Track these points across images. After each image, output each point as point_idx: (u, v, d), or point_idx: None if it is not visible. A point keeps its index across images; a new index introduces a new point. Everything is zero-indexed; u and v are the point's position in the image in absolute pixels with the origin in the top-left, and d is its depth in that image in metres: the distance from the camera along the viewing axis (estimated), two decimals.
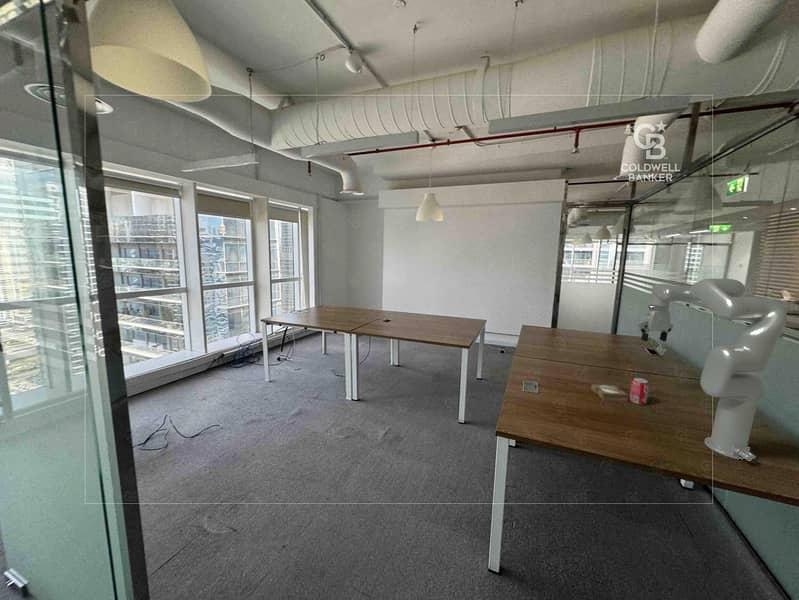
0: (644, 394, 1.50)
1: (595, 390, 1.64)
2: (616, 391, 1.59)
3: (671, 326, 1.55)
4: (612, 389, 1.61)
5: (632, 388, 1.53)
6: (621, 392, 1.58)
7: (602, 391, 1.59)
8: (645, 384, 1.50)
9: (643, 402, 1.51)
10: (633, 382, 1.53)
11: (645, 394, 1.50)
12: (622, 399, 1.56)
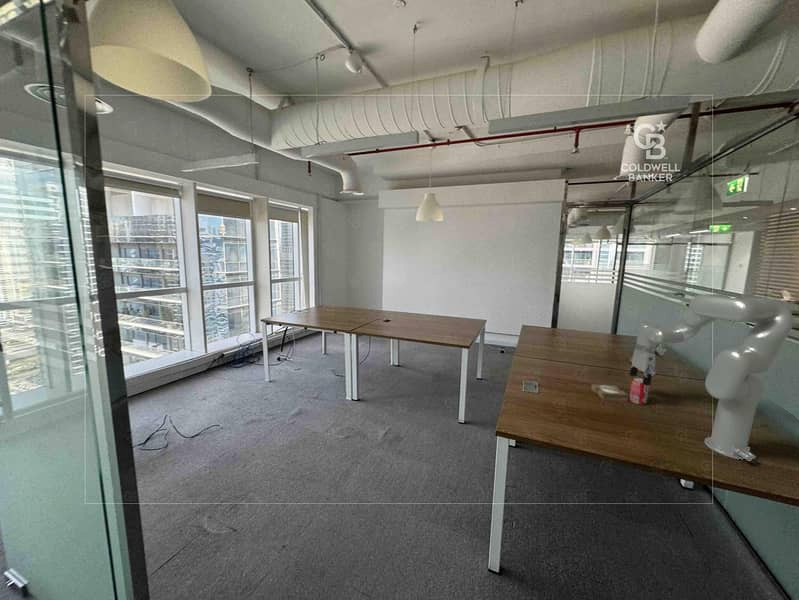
0: (644, 394, 1.50)
1: (595, 390, 1.64)
2: (616, 391, 1.59)
3: None
4: (612, 389, 1.61)
5: (632, 388, 1.53)
6: (621, 392, 1.58)
7: (602, 391, 1.59)
8: None
9: (643, 402, 1.51)
10: (633, 382, 1.53)
11: (645, 394, 1.50)
12: (622, 399, 1.56)
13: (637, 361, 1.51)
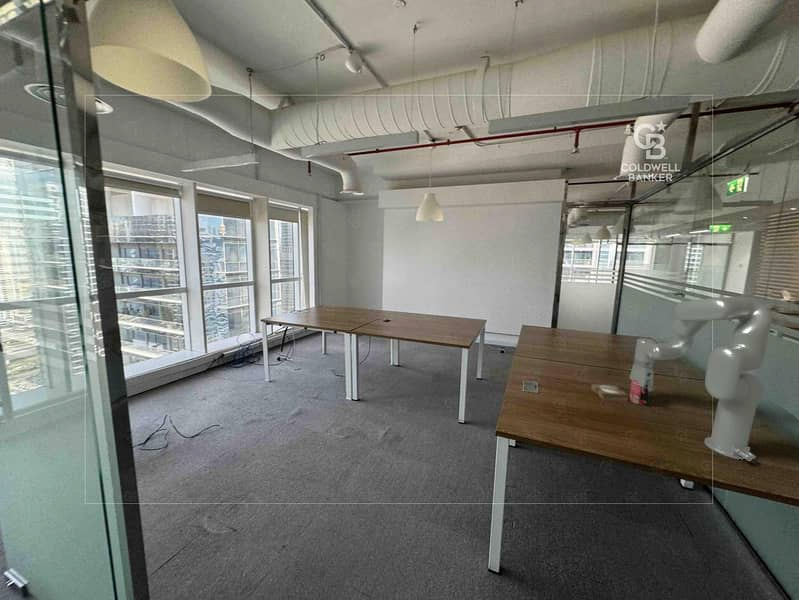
0: None
1: (595, 390, 1.64)
2: (616, 391, 1.59)
3: None
4: (612, 389, 1.61)
5: (632, 388, 1.53)
6: (621, 392, 1.58)
7: (602, 391, 1.59)
8: None
9: (643, 402, 1.51)
10: (633, 382, 1.53)
11: None
12: (622, 399, 1.56)
13: (636, 376, 1.52)
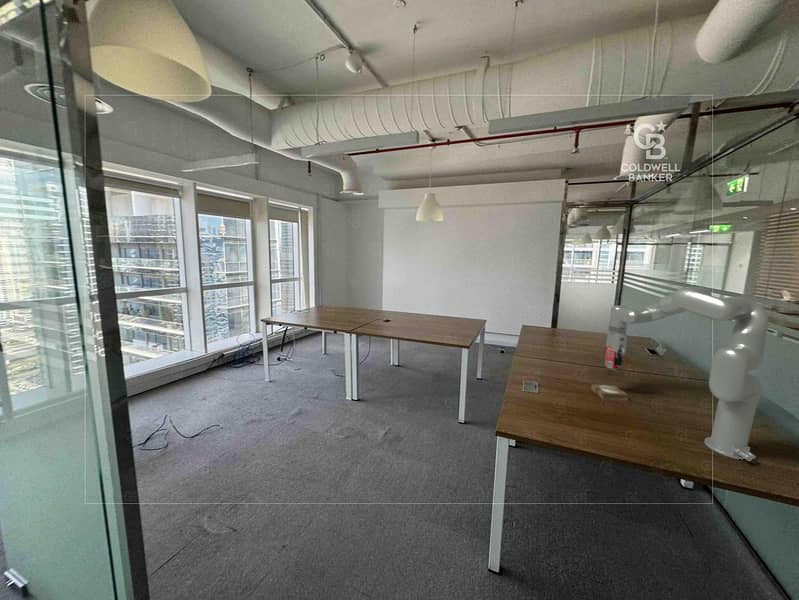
0: None
1: (595, 390, 1.64)
2: (616, 391, 1.59)
3: None
4: (612, 389, 1.61)
5: (607, 353, 1.58)
6: (621, 392, 1.58)
7: (602, 391, 1.59)
8: None
9: (617, 367, 1.56)
10: (608, 348, 1.58)
11: None
12: (622, 399, 1.56)
13: (610, 342, 1.58)
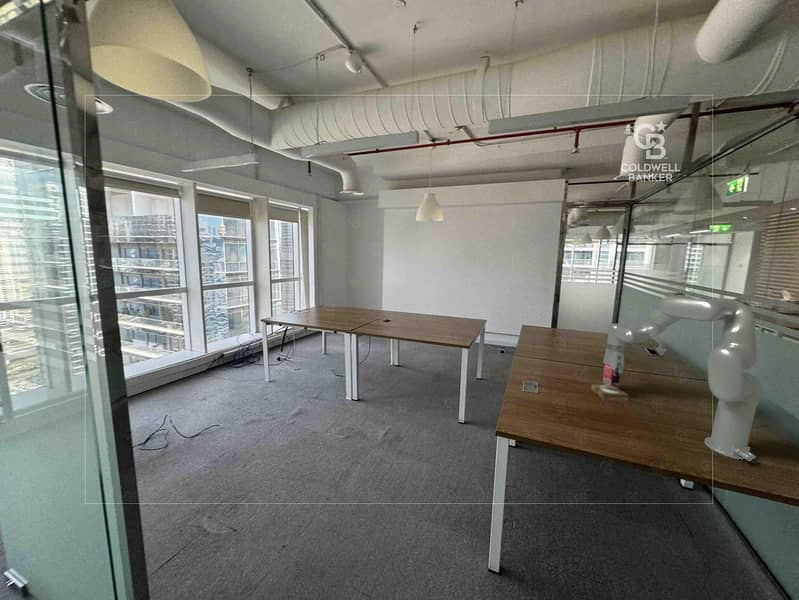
0: None
1: (595, 390, 1.64)
2: (616, 391, 1.59)
3: None
4: (612, 389, 1.61)
5: (605, 371, 1.60)
6: (621, 392, 1.58)
7: (602, 391, 1.59)
8: None
9: (615, 384, 1.58)
10: (605, 365, 1.60)
11: None
12: (622, 399, 1.56)
13: (608, 360, 1.59)
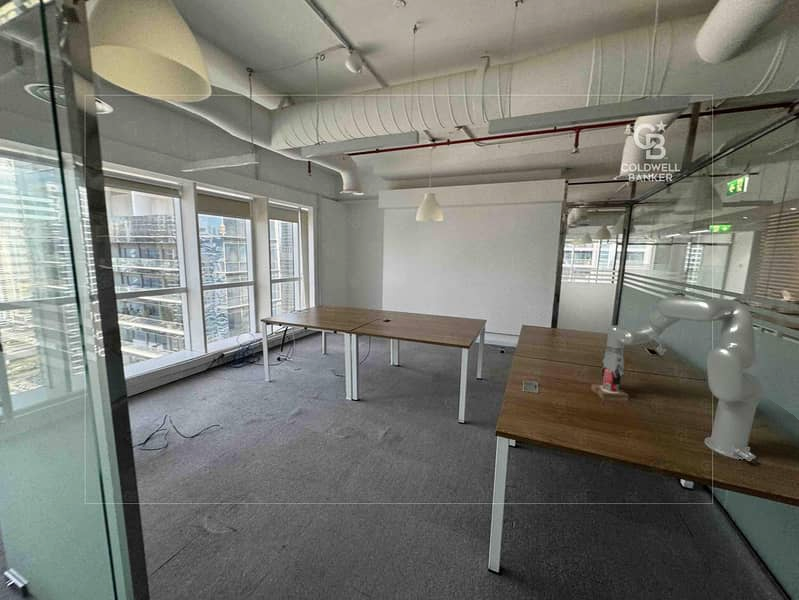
0: None
1: (595, 390, 1.64)
2: (616, 391, 1.59)
3: None
4: None
5: (605, 375, 1.60)
6: (621, 392, 1.58)
7: (602, 391, 1.59)
8: None
9: (615, 389, 1.58)
10: (605, 370, 1.60)
11: None
12: (622, 399, 1.56)
13: (608, 362, 1.59)
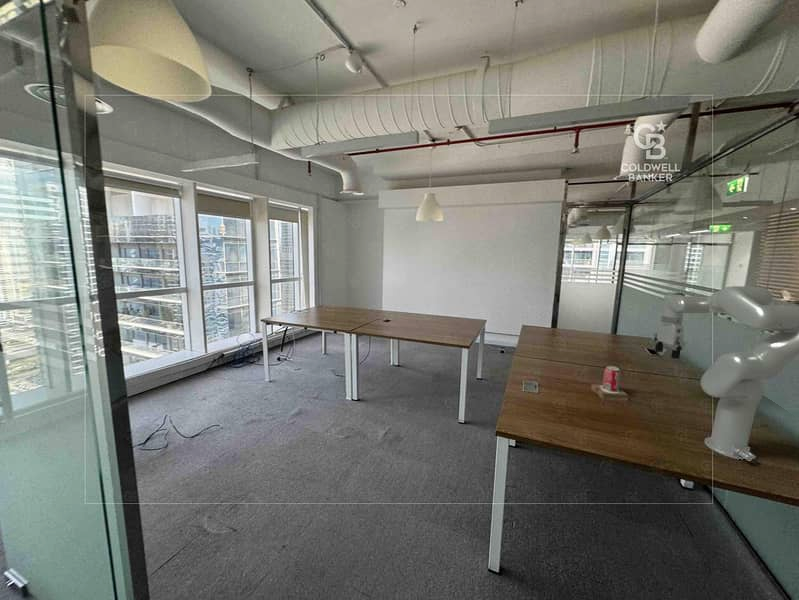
0: (615, 381, 1.57)
1: (595, 390, 1.64)
2: (616, 391, 1.59)
3: None
4: None
5: (605, 375, 1.60)
6: (621, 392, 1.58)
7: (602, 391, 1.59)
8: (616, 372, 1.57)
9: (615, 389, 1.58)
10: (605, 370, 1.60)
11: (616, 381, 1.57)
12: (622, 399, 1.56)
13: (664, 335, 1.46)
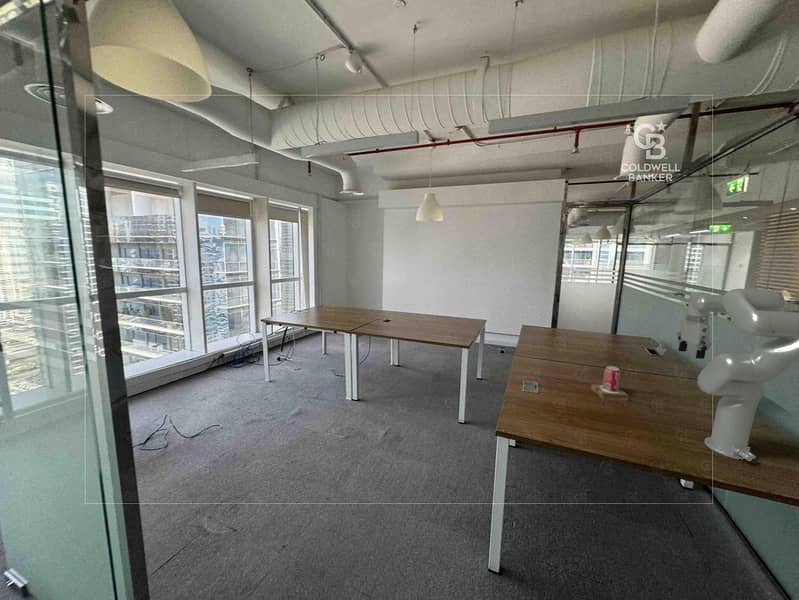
0: (615, 381, 1.57)
1: (595, 390, 1.64)
2: (616, 391, 1.59)
3: None
4: None
5: (605, 375, 1.60)
6: (621, 392, 1.58)
7: (602, 391, 1.59)
8: (616, 372, 1.57)
9: (615, 389, 1.58)
10: (605, 370, 1.60)
11: (616, 381, 1.57)
12: (622, 399, 1.56)
13: (688, 334, 1.41)
